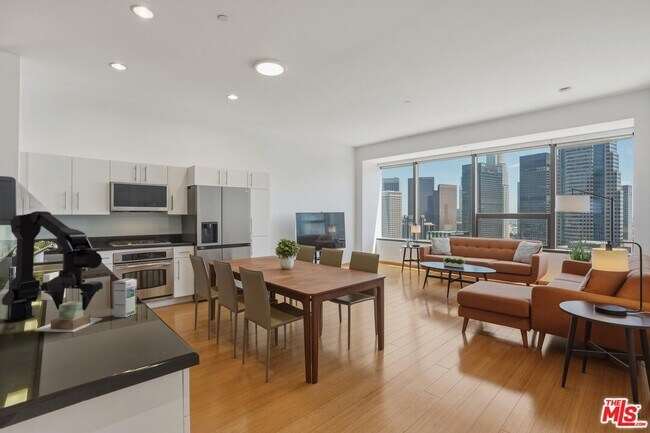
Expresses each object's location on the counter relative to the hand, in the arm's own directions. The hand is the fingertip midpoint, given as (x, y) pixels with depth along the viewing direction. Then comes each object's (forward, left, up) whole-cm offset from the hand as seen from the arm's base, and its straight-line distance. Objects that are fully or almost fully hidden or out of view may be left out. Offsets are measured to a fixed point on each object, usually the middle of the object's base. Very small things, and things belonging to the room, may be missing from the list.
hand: (71, 309), depth 116 cm
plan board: (-2, +2, -6) cm, 7 cm away
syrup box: (+10, +15, -6) cm, 19 cm away
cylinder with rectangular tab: (-40, +38, -6) cm, 56 cm away
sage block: (0, 0, -3) cm, 3 cm away
